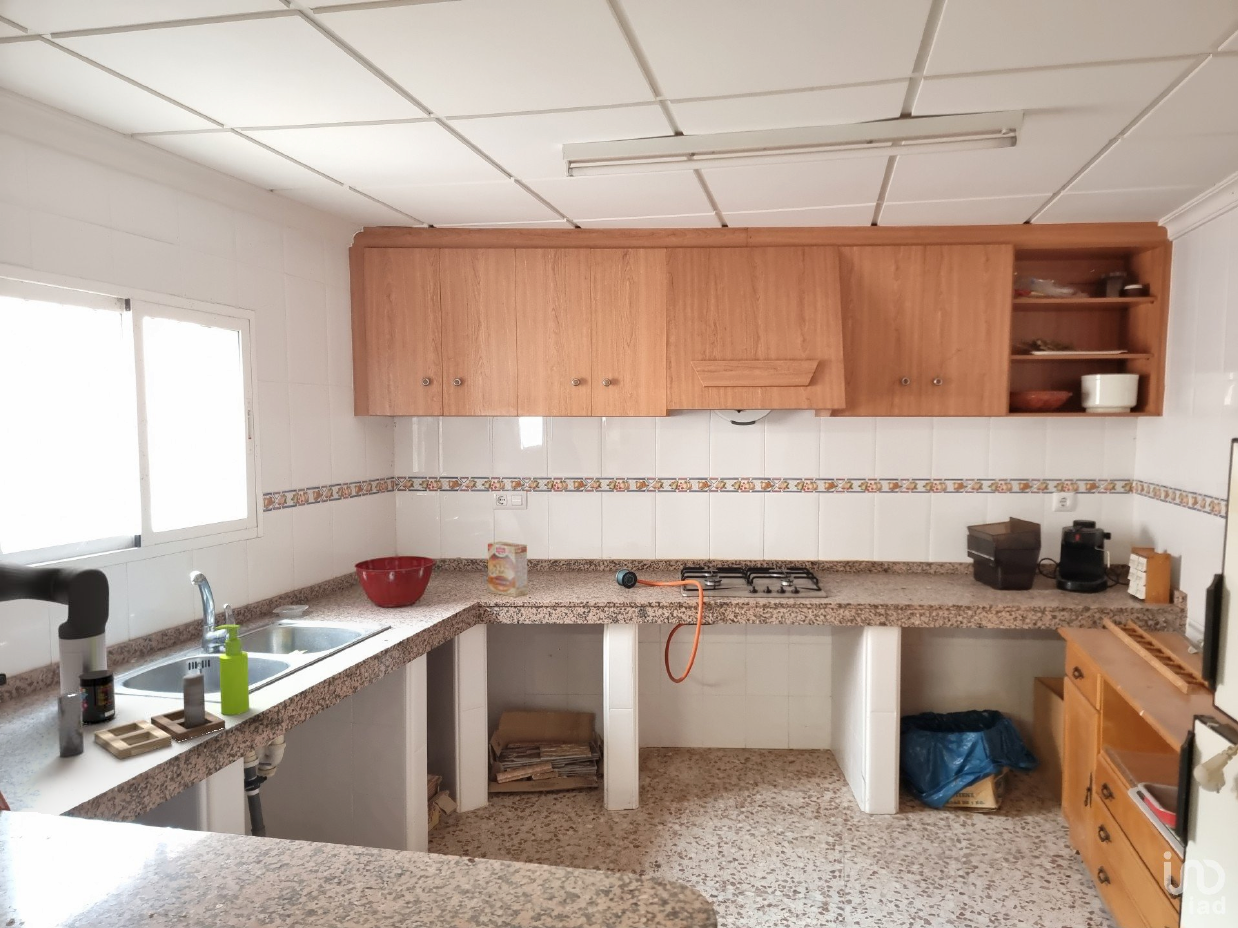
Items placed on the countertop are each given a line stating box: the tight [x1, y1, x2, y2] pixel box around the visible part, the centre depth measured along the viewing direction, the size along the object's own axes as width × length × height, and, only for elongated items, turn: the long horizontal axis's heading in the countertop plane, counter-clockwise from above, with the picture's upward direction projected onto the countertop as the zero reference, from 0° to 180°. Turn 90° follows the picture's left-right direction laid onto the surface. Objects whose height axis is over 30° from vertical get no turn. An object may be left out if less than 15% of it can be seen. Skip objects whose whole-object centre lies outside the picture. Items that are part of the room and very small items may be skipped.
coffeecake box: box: [487, 541, 528, 598], centre depth 314 cm, size 15×7×20 cm, turn 53°
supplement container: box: [79, 669, 116, 725], centre depth 182 cm, size 7×7×10 cm
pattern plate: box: [150, 673, 226, 742], centre depth 177 cm, size 15×10×12 cm, turn 50°
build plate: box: [93, 718, 172, 760], centre depth 169 cm, size 15×10×2 cm, turn 50°
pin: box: [56, 692, 85, 758], centre depth 163 cm, size 4×4×12 cm
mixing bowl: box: [353, 555, 436, 609], centre depth 297 cm, size 28×28×16 cm
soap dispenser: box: [213, 624, 250, 716], centre depth 187 cm, size 6×7×20 cm
